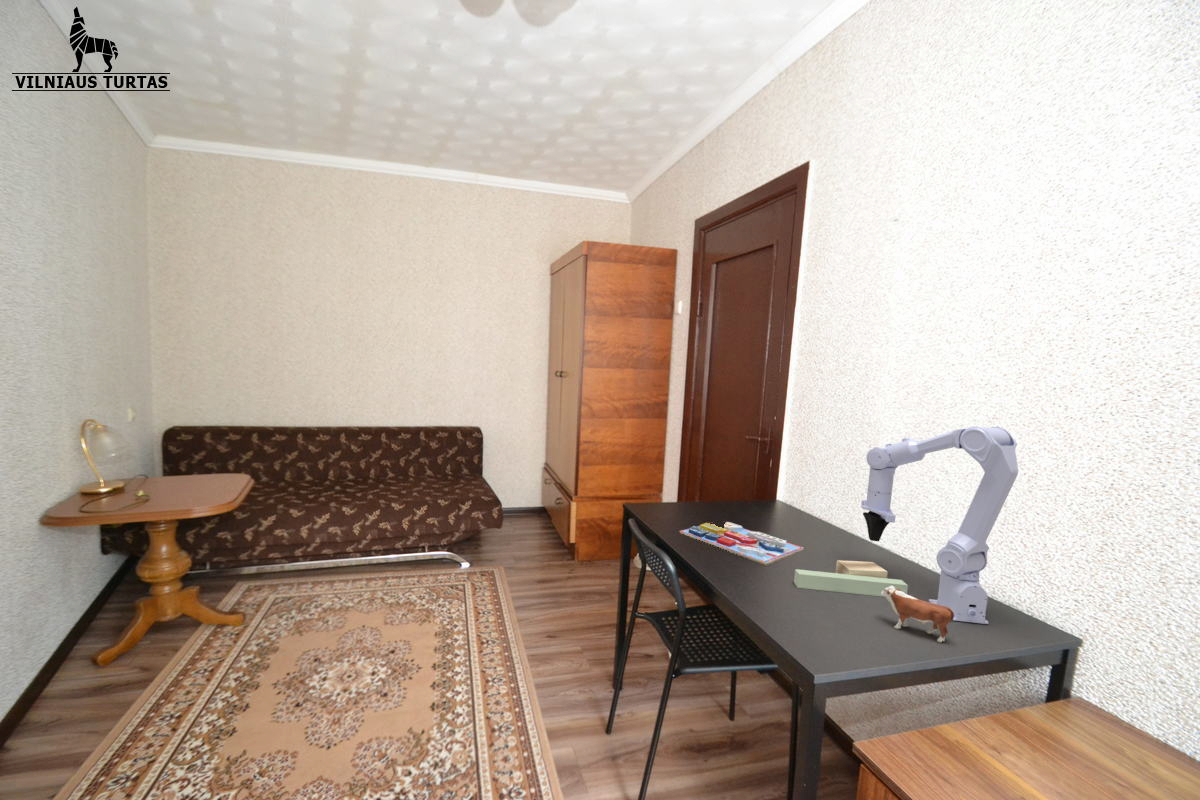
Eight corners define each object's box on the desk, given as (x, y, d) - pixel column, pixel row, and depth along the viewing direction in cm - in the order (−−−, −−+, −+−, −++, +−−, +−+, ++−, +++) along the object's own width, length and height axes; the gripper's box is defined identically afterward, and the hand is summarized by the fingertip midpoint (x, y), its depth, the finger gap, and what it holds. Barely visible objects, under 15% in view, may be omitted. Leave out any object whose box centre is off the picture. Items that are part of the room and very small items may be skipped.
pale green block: (906, 599, 121) (907, 585, 121) (797, 587, 123) (799, 574, 123) (899, 593, 124) (901, 579, 124) (793, 582, 126) (795, 569, 126)
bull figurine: (878, 615, 112) (882, 580, 111) (951, 639, 103) (956, 601, 103) (874, 622, 108) (879, 586, 108) (949, 647, 100) (954, 608, 99)
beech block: (885, 590, 126) (887, 571, 125) (847, 588, 125) (849, 569, 125) (871, 580, 132) (873, 562, 131) (834, 578, 131) (836, 560, 131)
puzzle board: (804, 551, 151) (805, 543, 151) (766, 568, 136) (766, 559, 135) (719, 523, 174) (720, 515, 173) (678, 534, 158) (679, 526, 158)
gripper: (852, 483, 142) (847, 530, 143) (877, 497, 127) (871, 548, 128) (877, 486, 141) (872, 532, 142) (905, 499, 127) (899, 551, 128)
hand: (874, 540), depth 135 cm, fingers closed
